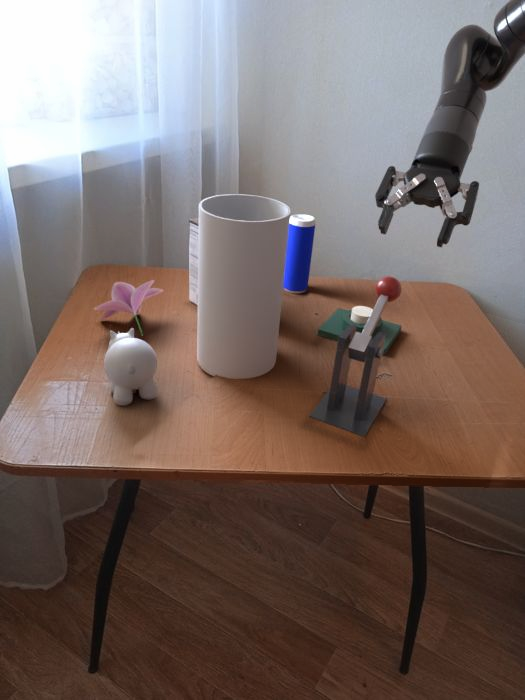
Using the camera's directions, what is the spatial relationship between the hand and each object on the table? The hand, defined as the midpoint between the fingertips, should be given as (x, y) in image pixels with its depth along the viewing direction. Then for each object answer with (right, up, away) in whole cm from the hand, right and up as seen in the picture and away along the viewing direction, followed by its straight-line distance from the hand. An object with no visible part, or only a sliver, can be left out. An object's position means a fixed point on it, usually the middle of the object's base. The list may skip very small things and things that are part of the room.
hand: (410, 237), depth 83 cm
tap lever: (-6, -13, -4) cm, 15 cm away
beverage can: (-15, -4, +32) cm, 36 cm away
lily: (-45, -12, +14) cm, 48 cm away
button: (-5, -11, +15) cm, 19 cm away
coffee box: (-30, -7, +25) cm, 40 cm away
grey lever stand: (-10, -26, -3) cm, 28 cm away
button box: (-5, -14, +16) cm, 22 cm away
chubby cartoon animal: (-41, -22, 0) cm, 47 cm away
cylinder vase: (-26, -19, +7) cm, 33 cm away
